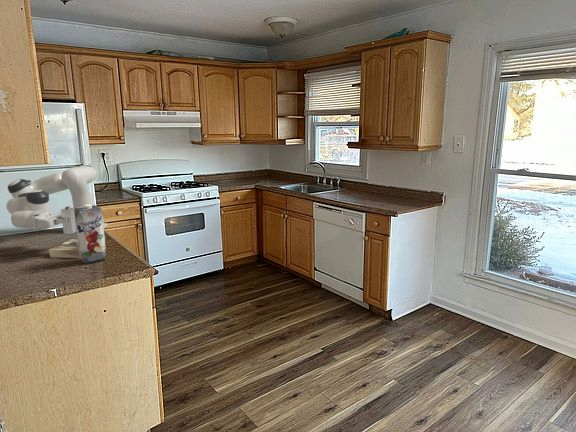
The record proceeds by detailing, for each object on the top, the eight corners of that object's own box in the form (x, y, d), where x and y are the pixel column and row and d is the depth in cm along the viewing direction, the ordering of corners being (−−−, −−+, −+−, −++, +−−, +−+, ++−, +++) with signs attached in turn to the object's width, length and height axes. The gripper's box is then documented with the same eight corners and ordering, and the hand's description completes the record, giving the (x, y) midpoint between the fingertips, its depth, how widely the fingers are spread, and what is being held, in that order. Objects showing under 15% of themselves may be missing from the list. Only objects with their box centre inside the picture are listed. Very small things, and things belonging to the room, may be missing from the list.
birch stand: (71, 246, 212) (69, 232, 210) (101, 246, 211) (99, 232, 209) (50, 257, 194) (47, 241, 192) (82, 257, 193) (79, 241, 191)
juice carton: (79, 260, 189) (71, 204, 183) (102, 256, 195) (96, 201, 190) (84, 265, 182) (76, 207, 176) (108, 260, 189) (101, 204, 183)
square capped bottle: (69, 231, 202) (66, 205, 199) (77, 231, 202) (74, 206, 199) (63, 233, 198) (60, 207, 195) (72, 233, 197) (69, 207, 195)
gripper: (58, 220, 210) (83, 221, 209) (31, 230, 190) (59, 230, 189) (56, 209, 209) (82, 209, 208) (29, 217, 189) (57, 217, 188)
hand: (71, 219), depth 198 cm, fingers closed on square capped bottle, 4 cm apart
